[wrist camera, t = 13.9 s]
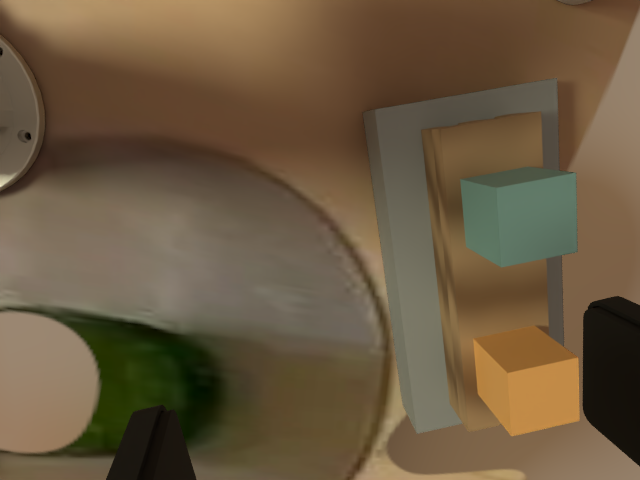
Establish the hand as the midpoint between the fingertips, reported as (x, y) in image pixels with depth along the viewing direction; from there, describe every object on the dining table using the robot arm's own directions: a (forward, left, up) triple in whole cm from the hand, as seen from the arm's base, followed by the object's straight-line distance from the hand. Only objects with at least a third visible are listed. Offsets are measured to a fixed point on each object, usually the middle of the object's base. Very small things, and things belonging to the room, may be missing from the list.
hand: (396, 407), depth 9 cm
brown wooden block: (+6, +12, -22) cm, 25 cm away
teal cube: (+1, +12, -18) cm, 22 cm away
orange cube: (+12, +12, -18) cm, 25 cm away
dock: (+6, +12, -26) cm, 29 cm away
